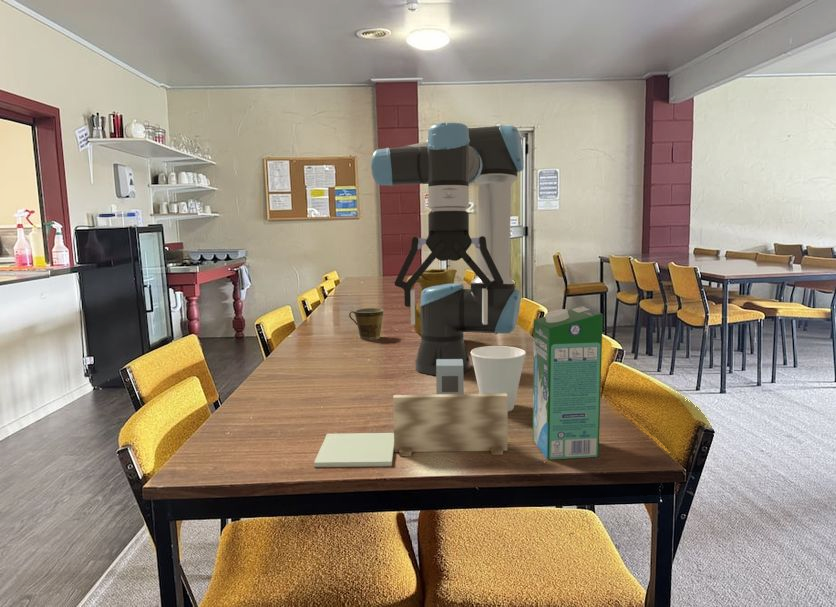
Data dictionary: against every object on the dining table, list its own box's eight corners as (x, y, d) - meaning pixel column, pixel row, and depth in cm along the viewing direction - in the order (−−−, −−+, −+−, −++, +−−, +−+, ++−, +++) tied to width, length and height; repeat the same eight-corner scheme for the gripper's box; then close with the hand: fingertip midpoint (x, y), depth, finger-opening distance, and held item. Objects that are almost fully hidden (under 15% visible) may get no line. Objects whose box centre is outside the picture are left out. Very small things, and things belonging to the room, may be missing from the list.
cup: (461, 403, 127) (460, 349, 125) (506, 396, 131) (506, 343, 130) (488, 419, 116) (488, 360, 114) (536, 411, 121) (537, 354, 119)
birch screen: (393, 456, 99) (392, 400, 98) (395, 444, 104) (394, 392, 102) (508, 454, 99) (509, 399, 97) (504, 443, 104) (504, 390, 102)
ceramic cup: (389, 336, 202) (388, 308, 200) (375, 342, 193) (374, 313, 191) (357, 334, 207) (356, 307, 206) (342, 339, 198) (341, 311, 197)
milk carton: (532, 439, 105) (533, 306, 102) (579, 437, 106) (582, 304, 102) (547, 460, 96) (549, 314, 93) (599, 457, 97) (603, 312, 93)
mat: (314, 467, 95) (313, 462, 95) (327, 437, 108) (327, 433, 108) (391, 466, 95) (391, 461, 95) (395, 436, 108) (395, 432, 108)
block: (437, 428, 112) (436, 359, 110) (462, 428, 112) (462, 359, 110) (437, 438, 107) (436, 365, 105) (463, 438, 106) (463, 365, 104)
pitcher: (468, 347, 180) (463, 268, 178) (410, 351, 181) (404, 273, 178) (464, 338, 197) (460, 266, 195) (411, 341, 198) (406, 270, 195)
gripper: (379, 210, 102) (381, 327, 104) (519, 208, 101) (517, 326, 104) (382, 211, 109) (384, 321, 112) (513, 210, 109) (511, 320, 111)
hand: (448, 323), depth 108 cm, fingers open, 13 cm apart
